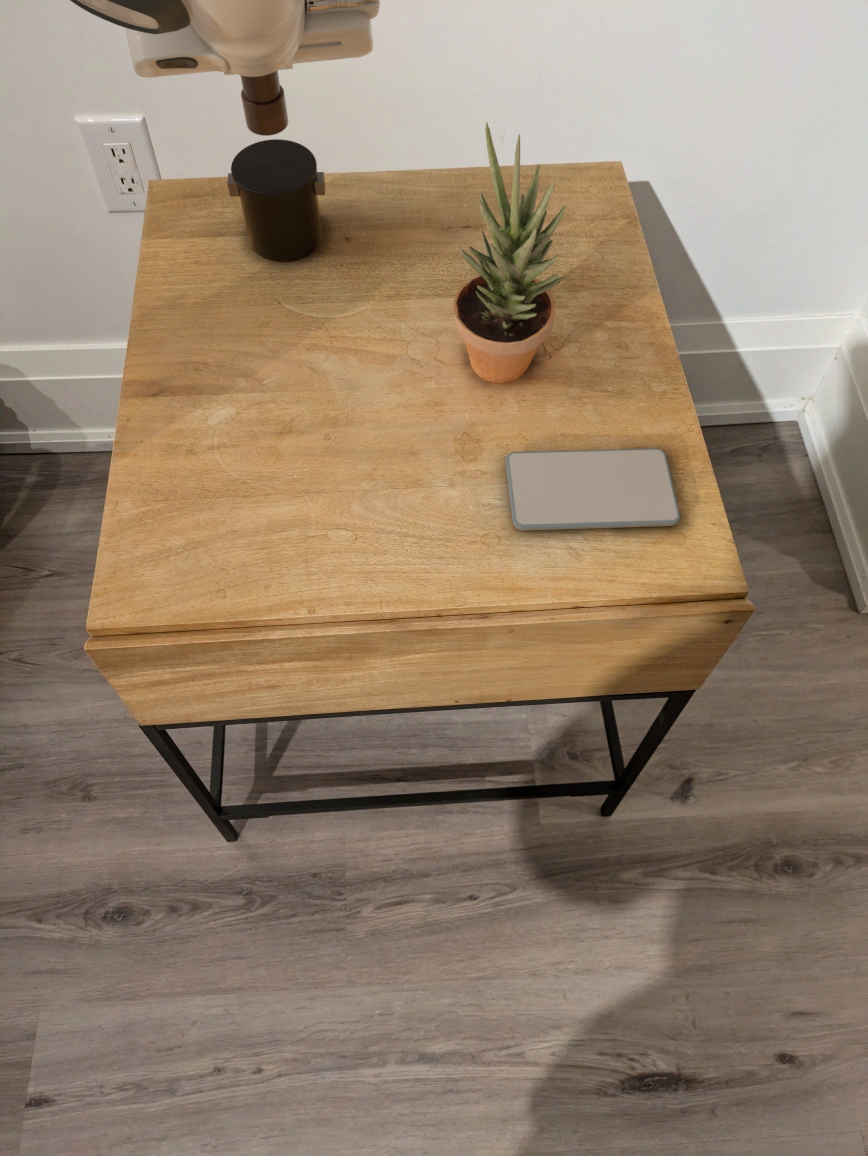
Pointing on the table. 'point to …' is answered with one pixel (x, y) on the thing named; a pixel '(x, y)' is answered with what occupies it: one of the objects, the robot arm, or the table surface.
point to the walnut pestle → (264, 104)
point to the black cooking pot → (279, 198)
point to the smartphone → (591, 489)
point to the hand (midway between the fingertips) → (257, 62)
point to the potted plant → (508, 281)
